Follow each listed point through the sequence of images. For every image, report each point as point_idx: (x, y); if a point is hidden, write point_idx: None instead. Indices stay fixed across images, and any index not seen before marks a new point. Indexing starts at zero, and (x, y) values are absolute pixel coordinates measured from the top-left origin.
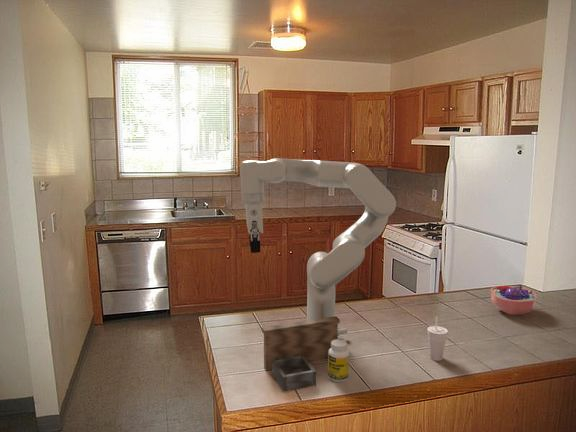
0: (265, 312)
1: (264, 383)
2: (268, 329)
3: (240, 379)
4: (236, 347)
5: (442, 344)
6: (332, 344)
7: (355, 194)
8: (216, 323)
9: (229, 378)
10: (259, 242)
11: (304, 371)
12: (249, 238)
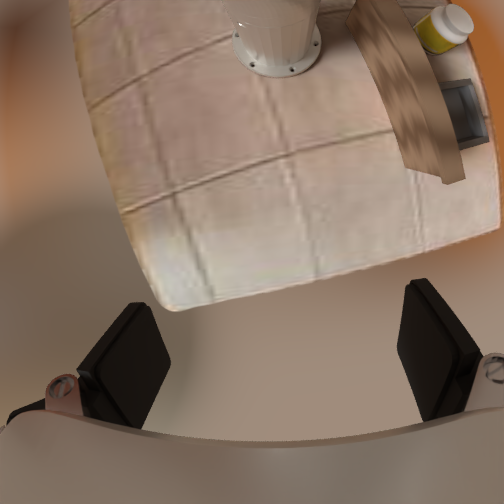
0: (119, 184)
1: None
2: (459, 167)
3: (438, 212)
4: (315, 230)
5: None
6: (469, 33)
7: None
8: (191, 286)
9: (433, 232)
10: (468, 339)
11: (473, 99)
12: (146, 407)
